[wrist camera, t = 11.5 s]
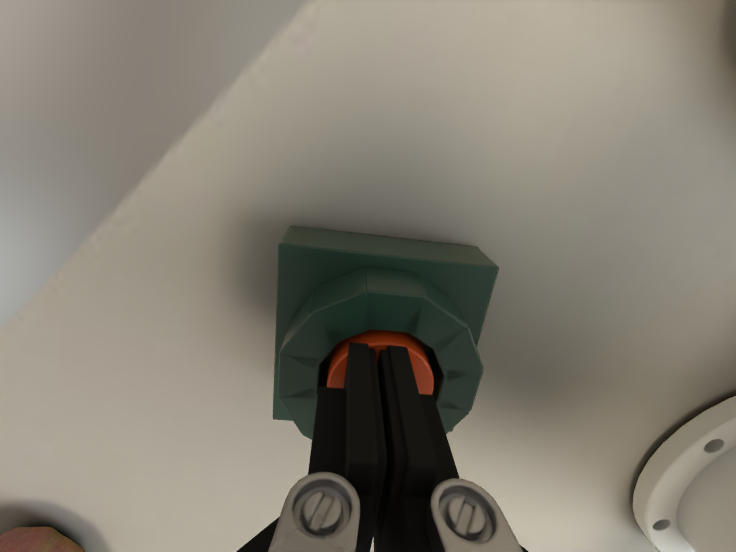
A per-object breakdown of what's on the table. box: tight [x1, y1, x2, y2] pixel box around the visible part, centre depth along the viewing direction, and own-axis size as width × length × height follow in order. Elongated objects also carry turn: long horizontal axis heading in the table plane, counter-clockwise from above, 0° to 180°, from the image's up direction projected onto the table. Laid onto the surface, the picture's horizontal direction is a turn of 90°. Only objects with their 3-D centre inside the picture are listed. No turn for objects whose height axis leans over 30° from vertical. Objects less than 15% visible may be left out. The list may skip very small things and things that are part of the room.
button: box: [327, 329, 434, 395], centre depth 11 cm, size 3×3×2 cm
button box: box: [273, 226, 499, 439], centre depth 13 cm, size 7×7×4 cm
